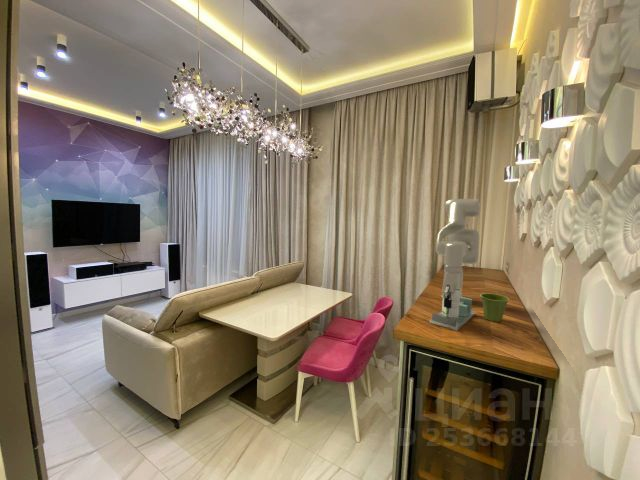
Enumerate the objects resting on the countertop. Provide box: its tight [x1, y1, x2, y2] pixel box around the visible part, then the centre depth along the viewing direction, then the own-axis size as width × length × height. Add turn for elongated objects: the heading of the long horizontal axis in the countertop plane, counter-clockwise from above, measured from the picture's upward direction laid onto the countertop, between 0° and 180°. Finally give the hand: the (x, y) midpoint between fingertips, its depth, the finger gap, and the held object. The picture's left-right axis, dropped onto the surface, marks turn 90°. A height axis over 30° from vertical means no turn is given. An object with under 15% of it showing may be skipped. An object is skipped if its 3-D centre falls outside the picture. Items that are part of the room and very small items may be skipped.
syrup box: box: [441, 287, 461, 317], centre depth 126 cm, size 6×6×14 cm
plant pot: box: [479, 292, 510, 323], centre depth 129 cm, size 12×12×11 cm
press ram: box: [459, 296, 473, 317], centre depth 135 cm, size 12×10×6 cm
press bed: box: [429, 309, 476, 331], centre depth 130 cm, size 28×12×4 cm, turn 136°
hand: (450, 305), depth 126 cm, fingers closed on syrup box, 8 cm apart
